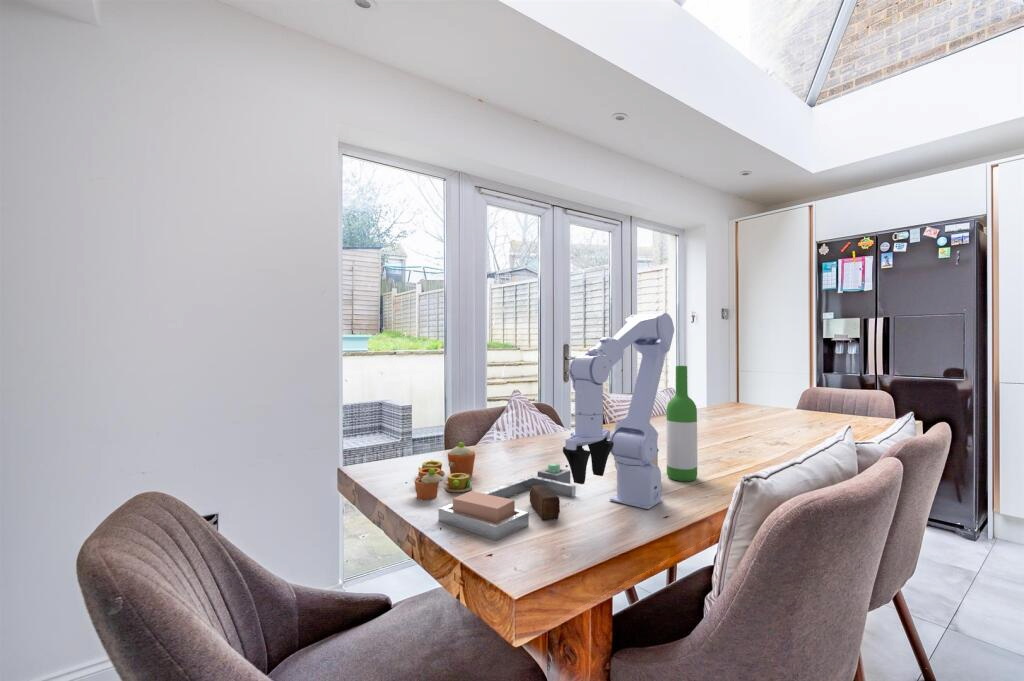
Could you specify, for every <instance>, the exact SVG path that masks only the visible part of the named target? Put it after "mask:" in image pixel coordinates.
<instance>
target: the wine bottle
mask: <svg viewBox="0 0 1024 681" xmlns="http://www.w3.org/2000/svg"><path fill="white" fill-rule="evenodd" d="M688 392H689V391H688V366H687V365H675V395H674V397H671V399H670V400H669V401H668V403H667V405H666V475H667V477H668V479H669V478H670V479H671V480H674V481H678V482H692V481H695V480H697V477H698V408H697V405H696V403H695V401H694V400H693V399H692V398H690V397H689V393H688Z"/></svg>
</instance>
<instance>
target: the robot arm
mask: <svg viewBox="0 0 1024 681" xmlns="http://www.w3.org/2000/svg"><path fill="white" fill-rule="evenodd" d="M674 333H675V326H674V322H673V319H672V317H671V315H670V313H667V312H662V313H653V314H652V313H650V314H634V313H633V314H631V315H629V317H627V318H625V322H624V325H623V327H622V328H620V329H619V331H618V332H617V333H616V334H615V335H614V336H613V337H610V336H607V337H601V338H600V339H599V342H598V343H597V344H596V345H595V346H594V347H591V348H589V349H588V350H587V352H586V353H585V354H584V355H582V354H581V355H577V356H576V357H575V358H573V359H572V361H571V363H570V366H569V368H568V375H569V378H570V379H571V382H572V388H573V391H574V431H572V432H570V437H568V438H566V439H565V446H562V453H563V454H564V456H565V458H566V460H567V463H568V465H569V468H570V473H571V475H572V479H573V483H574V484H577V485H578V484H579V485H585V483H586V477H587V476H586V475H587V466H588V461H589V459H591V470H592V474H593V475H594V476H598V477H603V476H604V474H605V469H606V465H607V462H608V459H609V455H610V454H611V455H612V456H613V460H614V461H615V460H616V461H617V470H616V495H613V496H611V497H610V498H609V501H610V502H615V503H618V504H624V505H628V506H632V507H637V508H641V509H643V510H644V509H645V510H649V509H651V508H653V507H654V506H656V505H657V504H659V503H661V502H662V501H663V498H662V473H661V472H662V471H661V469H660V467H659V465H658V466H655V465H652V464H650V463H652V461H653V460H654V459H655V457H656V454H657V449H658V450H659V448H658V446H659V445H658V440H659V438H658V437H659V433H658V430H657V429H656V428H655V426H653V425H652V423H650V422H651V418H652V414H653V410H654V406H655V402H656V397H657V393H658V388H659V384H660V381H661V375H662V373H663V369H664V368H663V367H664V364H665V360H666V355H667V353H668V352H670V350H671V346H672V342H673V337H674ZM630 345H632V346H633V347H634V349H635V351H637V352H638V353H640V354H641V356H642V357H641V361H640V366H639V367H638V373H637V376H636V380H635V383H634V387H633V393H632V396H631V399H630V403H629V408H628V412H627V415H626V417H625V418H623V419H621V420H619V421H617V423H616V424H615V427H614V430H613V431H612V433H611V430H610V429H604V400H603V399H604V386H603V384H604V383H606V382H607V380H608V378H609V376H610V372H611V371H612V368H613V367H614V366H615V365H617V364H618V362H619V361H621V359H622V358H624V355H625V351H624V350H625V349H627V348H628V347H629V346H630ZM585 446H587V447H588V449H587V450H586V449H585V448H583V447H585Z"/></svg>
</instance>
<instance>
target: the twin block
mask: <svg viewBox="0 0 1024 681" xmlns="http://www.w3.org/2000/svg"><path fill="white" fill-rule="evenodd" d="M515 501H516V500H515V499H511V498H502V497H497V496H493V495H488V494H483V492H479V491H472V490H469V491H467V492H464V493H462V494H461V495H459V496H457V497H456V496H455V497H453V498H452V503H453V510H455V511H458V512H461V513H464V514H467V515H470V516H474V517H477V518H480V519H483V520H486V521H489V522H492V523H498V522H500V521H502V520H505V519H507V518H509V517H511V516H514V515H515V509H516V508H515V505H516V504H515Z"/></svg>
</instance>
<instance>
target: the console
mask: <svg viewBox="0 0 1024 681" xmlns="http://www.w3.org/2000/svg"><path fill="white" fill-rule="evenodd" d="M537 477H541V478H546V479H550V480H555V481H559V482H564V483H568V484H571V469H570V470H569V469H565V468H560V472H559V473H556V474H555V473H550V472H548V467H547V468H543V469H540V470H538V471H537Z"/></svg>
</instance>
